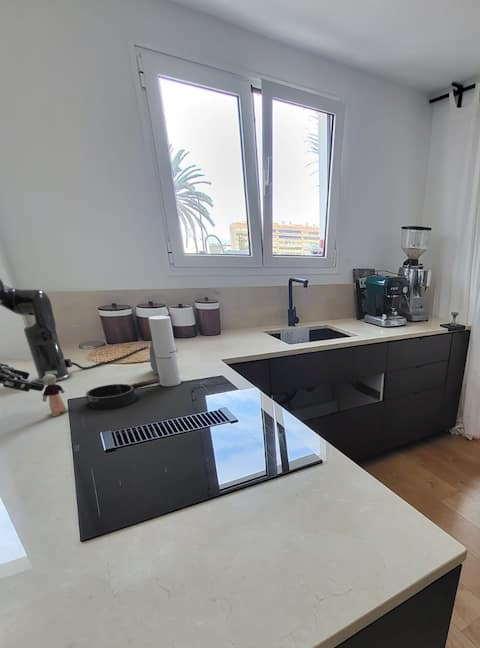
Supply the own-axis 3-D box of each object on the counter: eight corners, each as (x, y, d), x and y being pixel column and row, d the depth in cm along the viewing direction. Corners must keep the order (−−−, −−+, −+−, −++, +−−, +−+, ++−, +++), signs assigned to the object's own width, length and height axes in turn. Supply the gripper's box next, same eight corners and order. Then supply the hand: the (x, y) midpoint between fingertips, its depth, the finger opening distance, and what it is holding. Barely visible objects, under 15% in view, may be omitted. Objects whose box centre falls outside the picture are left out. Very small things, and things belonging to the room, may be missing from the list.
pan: (99, 395, 138) (96, 384, 136) (141, 393, 140) (138, 383, 138) (81, 410, 125) (78, 398, 124) (127, 408, 128) (124, 397, 126)
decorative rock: (151, 369, 166) (144, 334, 160) (167, 367, 170) (161, 332, 164) (158, 380, 154) (151, 342, 148) (176, 377, 158) (170, 340, 152)
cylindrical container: (184, 382, 153) (174, 317, 143) (169, 387, 147) (157, 319, 137) (171, 379, 155) (160, 315, 145) (156, 384, 149) (143, 317, 140)
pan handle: (131, 390, 136) (130, 385, 135) (128, 389, 137) (127, 384, 136) (161, 382, 144) (160, 378, 143) (158, 381, 145) (157, 377, 144)
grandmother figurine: (59, 417, 120) (47, 377, 115) (45, 417, 119) (32, 377, 114) (73, 407, 127) (62, 370, 122) (61, 408, 126) (49, 370, 121)
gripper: (-14, 364, 99) (54, 380, 114) (-40, 344, 104) (28, 361, 119) (-27, 391, 99) (42, 403, 114) (-53, 369, 104) (17, 383, 119)
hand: (35, 381), depth 116 cm, fingers open, 8 cm apart
